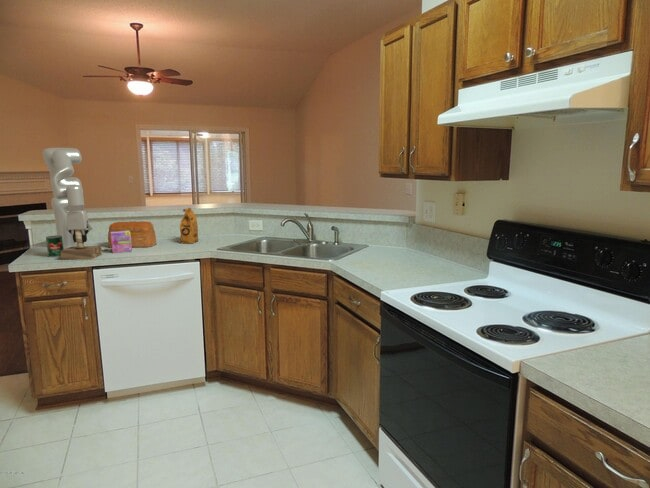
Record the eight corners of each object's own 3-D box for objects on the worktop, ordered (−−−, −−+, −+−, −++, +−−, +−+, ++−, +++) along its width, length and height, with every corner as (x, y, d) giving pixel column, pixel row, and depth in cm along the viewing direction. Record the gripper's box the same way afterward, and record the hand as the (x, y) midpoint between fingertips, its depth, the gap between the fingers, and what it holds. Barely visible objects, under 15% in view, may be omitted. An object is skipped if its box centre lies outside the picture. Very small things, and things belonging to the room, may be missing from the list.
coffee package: (178, 243, 286) (175, 209, 282) (186, 240, 298) (183, 207, 294) (193, 244, 285) (191, 209, 281) (200, 240, 297) (198, 207, 293)
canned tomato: (59, 253, 260) (57, 234, 258) (67, 255, 256) (65, 235, 254) (45, 256, 253) (42, 237, 251) (53, 257, 249) (50, 238, 247)
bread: (150, 247, 276) (148, 223, 273) (106, 248, 275) (103, 223, 273) (158, 243, 289) (156, 219, 286) (116, 244, 289) (114, 220, 286)
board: (73, 255, 255) (72, 246, 254) (101, 254, 256) (100, 246, 255) (61, 259, 244) (60, 250, 243) (91, 259, 244) (90, 250, 243)
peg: (79, 247, 250) (76, 229, 249) (86, 246, 251) (84, 228, 249) (75, 248, 246) (73, 230, 245) (82, 248, 247) (80, 230, 245)
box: (112, 253, 259) (110, 233, 257) (112, 251, 264) (110, 231, 262) (132, 251, 264) (130, 231, 262) (131, 249, 269) (129, 230, 267)
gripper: (56, 209, 241) (61, 243, 244) (88, 209, 241) (92, 242, 244) (64, 208, 248) (68, 241, 251) (95, 207, 249) (99, 240, 252)
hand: (80, 241), depth 248 cm, fingers closed on peg, 4 cm apart
